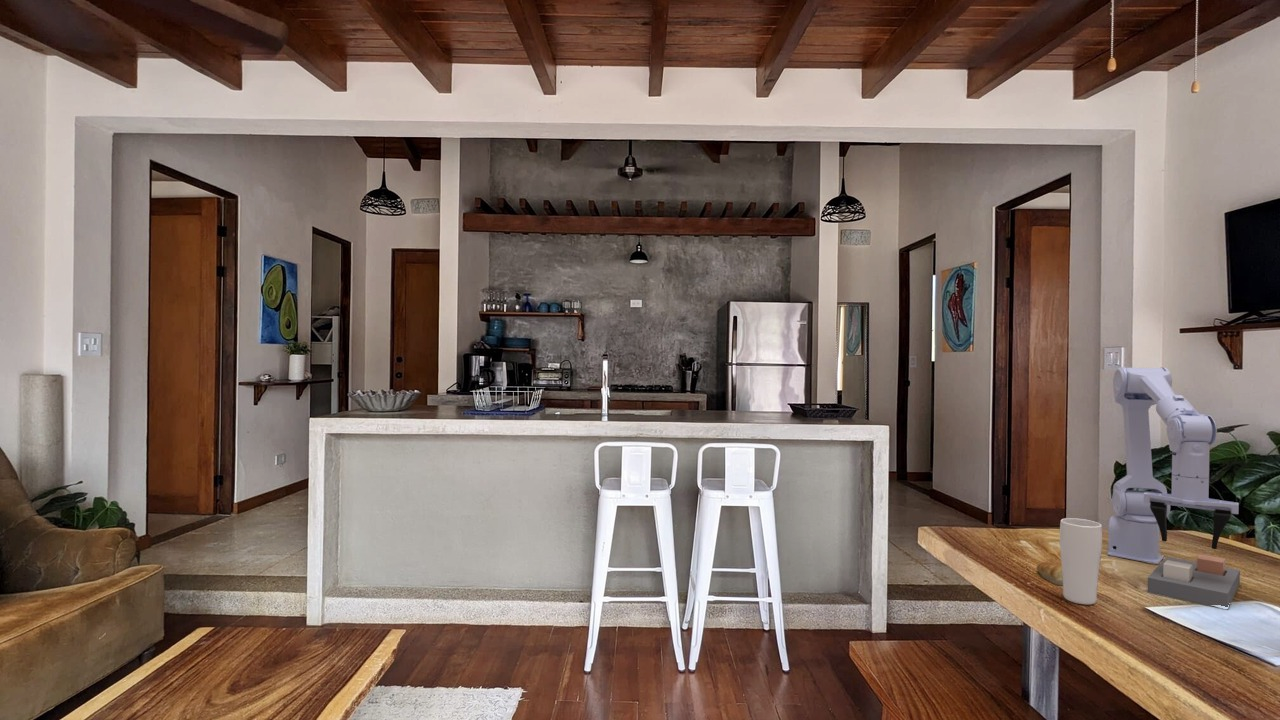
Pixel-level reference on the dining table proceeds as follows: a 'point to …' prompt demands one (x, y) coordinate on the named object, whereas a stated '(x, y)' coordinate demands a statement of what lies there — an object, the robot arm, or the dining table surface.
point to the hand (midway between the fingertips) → (1188, 544)
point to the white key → (1177, 570)
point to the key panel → (1196, 585)
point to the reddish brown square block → (1211, 564)
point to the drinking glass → (1080, 559)
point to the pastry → (1051, 572)
